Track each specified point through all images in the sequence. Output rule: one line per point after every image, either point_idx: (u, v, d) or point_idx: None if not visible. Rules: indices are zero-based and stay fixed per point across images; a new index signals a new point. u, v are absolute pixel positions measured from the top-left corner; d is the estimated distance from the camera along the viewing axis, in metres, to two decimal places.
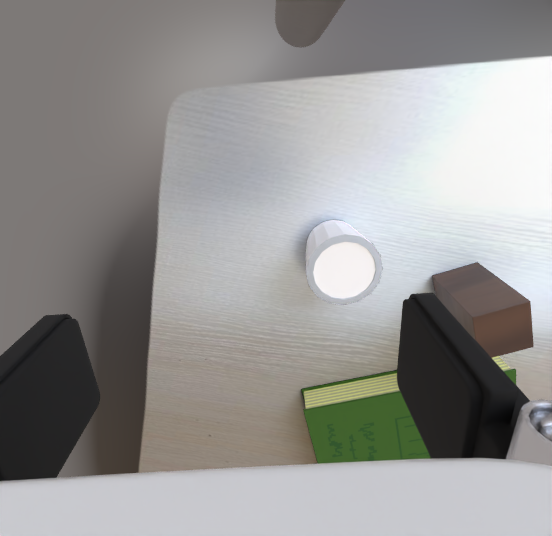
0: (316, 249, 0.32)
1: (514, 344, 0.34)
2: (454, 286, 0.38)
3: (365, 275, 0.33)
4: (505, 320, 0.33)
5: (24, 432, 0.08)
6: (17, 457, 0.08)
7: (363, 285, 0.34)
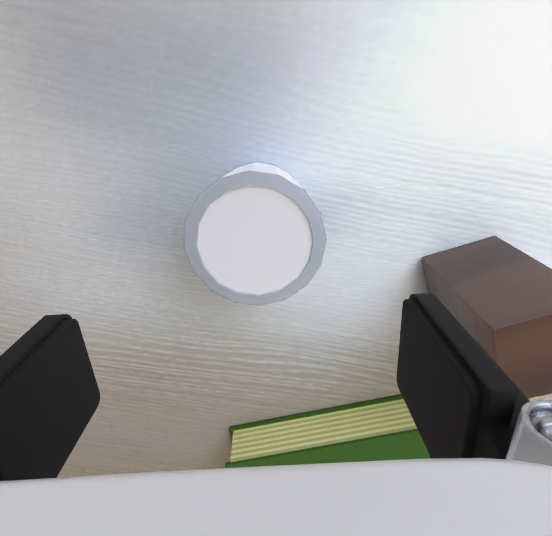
0: (197, 200, 0.17)
1: None
2: (457, 273, 0.23)
3: (294, 251, 0.18)
4: None
5: (24, 432, 0.08)
6: (17, 457, 0.08)
7: (292, 270, 0.19)
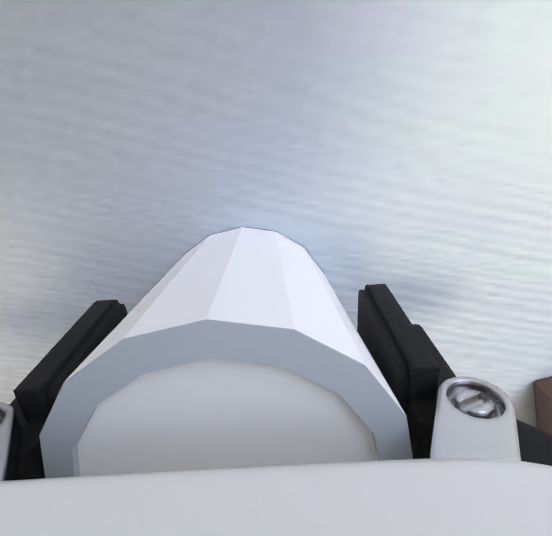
0: (65, 393, 0.06)
1: None
2: None
3: None
4: None
5: None
6: None
7: None
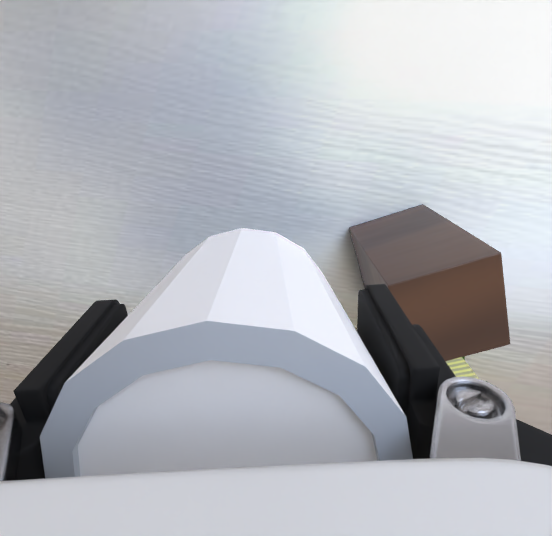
0: (65, 394, 0.06)
1: (472, 339, 0.18)
2: (376, 238, 0.22)
3: None
4: (454, 292, 0.17)
5: None
6: None
7: None
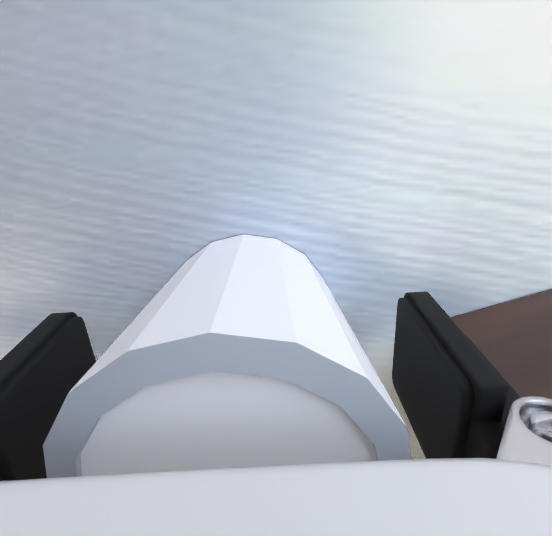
0: (69, 404, 0.06)
1: None
2: None
3: None
4: None
5: (32, 429, 0.08)
6: (25, 453, 0.08)
7: None
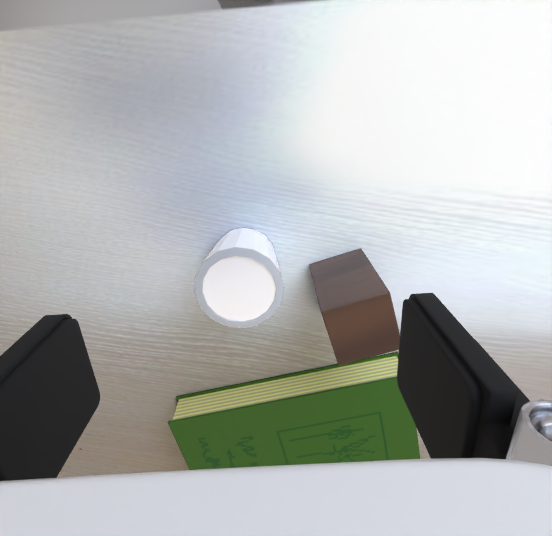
0: (203, 264, 0.27)
1: (378, 345, 0.28)
2: (323, 275, 0.32)
3: (264, 294, 0.28)
4: (363, 315, 0.27)
5: (24, 432, 0.08)
6: (17, 457, 0.08)
7: (263, 306, 0.29)
